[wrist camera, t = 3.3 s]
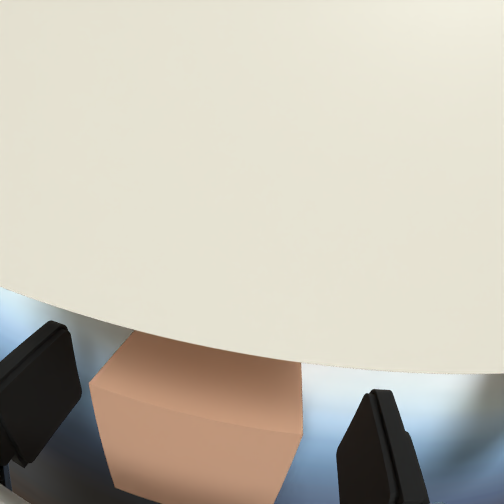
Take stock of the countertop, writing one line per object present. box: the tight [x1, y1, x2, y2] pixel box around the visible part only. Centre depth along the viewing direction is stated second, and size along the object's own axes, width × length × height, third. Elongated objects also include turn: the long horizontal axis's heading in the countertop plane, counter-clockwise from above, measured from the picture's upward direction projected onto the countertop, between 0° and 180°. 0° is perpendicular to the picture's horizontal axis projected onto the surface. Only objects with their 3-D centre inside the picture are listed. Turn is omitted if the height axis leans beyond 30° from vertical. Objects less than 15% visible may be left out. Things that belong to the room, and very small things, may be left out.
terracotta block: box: [89, 330, 303, 504], centre depth 10 cm, size 5×5×6 cm
